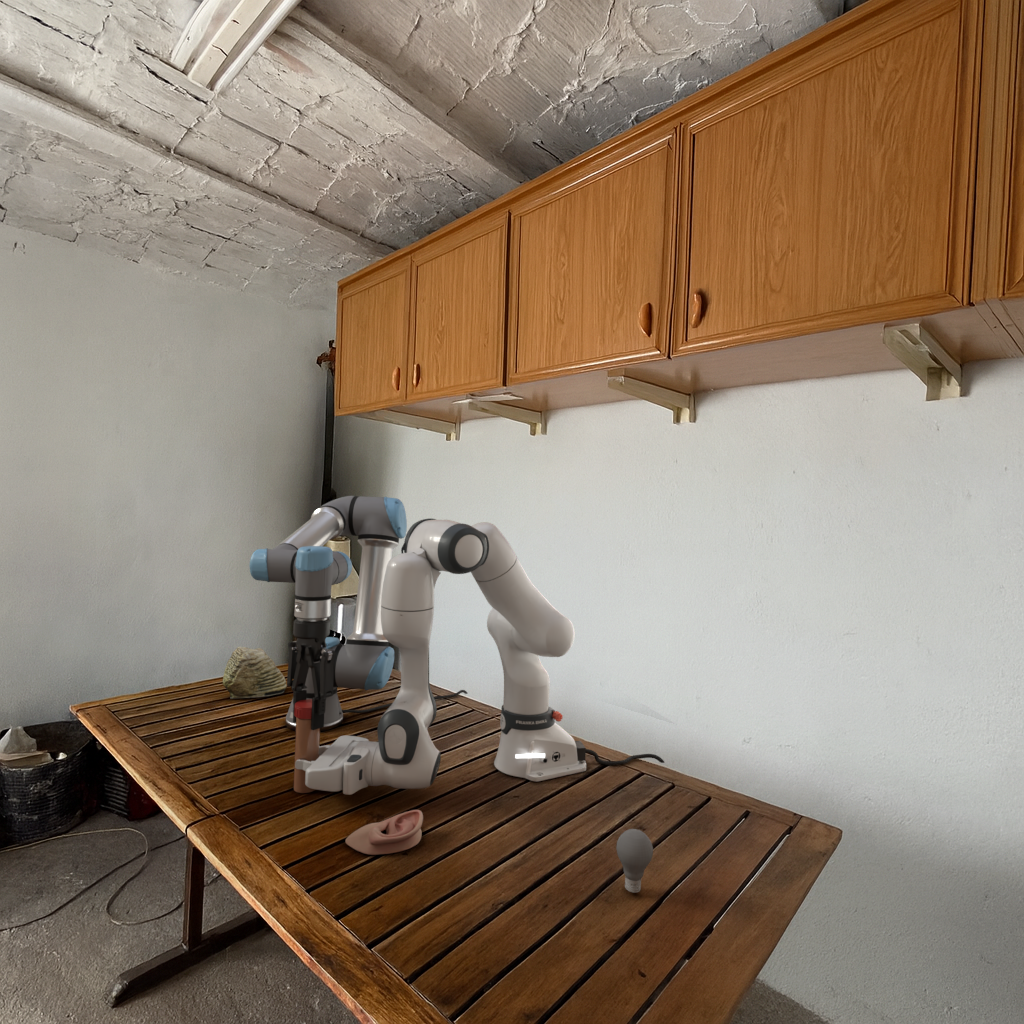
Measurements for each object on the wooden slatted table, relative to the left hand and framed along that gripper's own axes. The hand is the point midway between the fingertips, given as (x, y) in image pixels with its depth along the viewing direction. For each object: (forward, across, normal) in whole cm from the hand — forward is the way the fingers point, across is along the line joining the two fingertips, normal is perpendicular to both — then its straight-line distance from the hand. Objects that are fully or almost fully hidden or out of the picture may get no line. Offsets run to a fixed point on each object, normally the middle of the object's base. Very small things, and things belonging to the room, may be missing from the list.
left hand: (308, 724), depth 137 cm
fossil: (+14, -65, +27) cm, 72 cm away
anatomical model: (+14, +28, -3) cm, 32 cm away
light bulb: (+14, +71, +14) cm, 74 cm away
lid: (-4, 0, 0) cm, 4 cm away
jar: (+14, 0, 0) cm, 14 cm away
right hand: (+7, -1, 0) cm, 7 cm away
